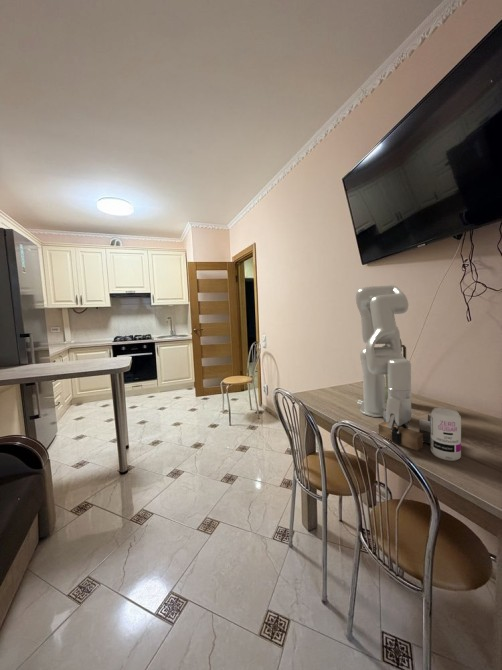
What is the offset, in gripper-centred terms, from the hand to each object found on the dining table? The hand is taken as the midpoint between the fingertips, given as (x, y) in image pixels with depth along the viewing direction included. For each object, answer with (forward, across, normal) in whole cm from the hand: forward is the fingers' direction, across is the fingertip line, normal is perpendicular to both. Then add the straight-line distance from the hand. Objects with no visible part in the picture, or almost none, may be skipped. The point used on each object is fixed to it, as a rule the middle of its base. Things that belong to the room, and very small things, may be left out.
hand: (399, 440), depth 100 cm
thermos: (+1, -40, -23) cm, 46 cm away
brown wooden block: (+1, 0, 0) cm, 1 cm away
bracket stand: (+1, -9, 0) cm, 9 cm away
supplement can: (+1, -2, +14) cm, 14 cm away
